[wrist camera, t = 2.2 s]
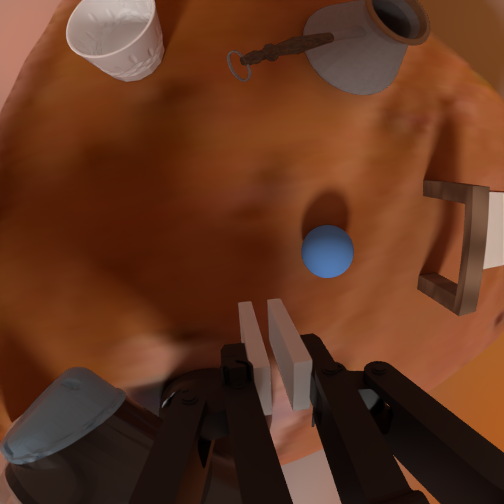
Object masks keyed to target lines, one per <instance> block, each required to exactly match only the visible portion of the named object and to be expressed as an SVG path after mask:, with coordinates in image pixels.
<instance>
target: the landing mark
mask: <svg viewBox="0 0 504 504" xmlns="http://www.w3.org/2000/svg"><path fill="white" fill-rule="evenodd" d="M501 265H504V193H503V192H489V215H488V229H487V241H486V250H485V258H484V266H483V269H486V268H491V267H496V266H501Z"/></svg>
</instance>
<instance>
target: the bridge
mask: <svg viewBox="0 0 504 504" xmlns="http://www.w3.org/2000/svg"><path fill="white" fill-rule="evenodd" d="M424 196H427V197H432V198H438V199H443V200H449V201H454V202H459V203H464V204H465V220H464V235H463V246H462V256H461V265H460V272H459V280H458V284H456V283H454V282H452V281H450V280H449V279H447V278H445V277H443V276H441V275H439V274H437V273H429V274H423V275H419V280H418V290H420V291H421V292H423V293H424V294H426V295H427V296H429V297H431V298H432V299H434V300H435V301H437V302H438V303H440V304H441V305H443V306H444V307H446V308H447V309H449V310H450V311H452V312H453V313H455V314H456V315H458V316H462V315H465V314H469V313H472V312H475V311H476V307H477V302H478V296H479V291H480V285H481V279H482V273H483V266H484V258H485V250H486V241H487V229H488V215H489V187H486V186H479V185H472V184H464V183H456V182H447V181H433V180H424Z"/></svg>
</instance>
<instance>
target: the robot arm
mask: <svg viewBox="0 0 504 504" xmlns="http://www.w3.org/2000/svg"><path fill="white" fill-rule="evenodd" d="M267 303H268V326H269V341H270V344H271V347H272V350H273V353H274V356H275V359H276V362H277V365H278V368H279V371H280V374H281V377H282V380H283V383H284V386H285V389H286V392H287V395H288V398H289V401H290V404H291V407H292V410H293V411H298V410H304V409H309V408H310V400H311V403H312V405H313V414H312V427H314V424H316V427H317V430H318V433H319V436H320V439H321V442H322V445H323V448H324V451H325V454H326V457H327V460H328V463H329V467H330V470H331V473H332V475H333V478H334V482H335V485H336V488H337V491H338V494H339V497H340V500H341V503H342V504H429V502H428V500H427V498H426V496H425V495H424V494H423V492H421V491H419V490H415V491H413V490H412V489H411V488H410V487H409V485H408V483H407V481H406V479H405V477H404V475H403V473H402V471H401V469H400V467H399V465H398V464H397V462H396V460H395V458H394V456H395V457H396V458H397V460H398V461H399V462H400V463H401V464H402V465H403V466H404V467H405V468H406V469H407V470H408V471H409V472H410V473H411V474H412V475H413V476H414V477H415V478H416V479H417V480H418V481H419V482H420V483H421V484H422V485H423V486H424V487H425V488H426V489H427V491H428V492H429V493H430V494H431V495H432V496H433V497H435V499H436V500H437V501H438V502H439V503H440V504H504V453H503V452H502V451H501V450H500V449H498V448H497V447H496V446H494V445H493V444H492V443H491V442H489V441H488V440H487V439H485V438H484V437H483V436H481V435H480V434H479V433H477V432H476V431H475V430H474V429H472V428H471V427H470V426H469V425H467V424H466V423H465V422H463V421H462V420H461V419H459V418H458V417H457V416H456V415H454V414H453V413H452V412H451V411H449V410H448V409H447V408H445V407H444V406H443V405H441V404H440V403H439V402H438V401H436V400H435V399H434V398H433V397H431V396H430V395H429V394H427V393H426V392H425V391H424V390H422V389H421V388H420V387H418V386H417V385H416V384H415V383H413V382H412V381H411V380H409V379H408V378H407V377H406V376H404V375H403V374H402V373H400V372H399V371H398V370H397V369H395V368H394V367H393V366H392V365H390V364H388V363H386V362H382V361H374V362H370V363H368V364H367V365H366V366H365V367H364V371H348V370H347V369H346V368H345V367H344V366H343V365H342V364H340V363H338V362H335V361H334V360H333V358H332V357H331V355H330V353H329V352H328V350H327V349H326V347H325V345H324V344H323V342H322V340H321V339H320V338H319V337H318V336H316V335H315V334H313V333H312V334H306V335H299V333H298V332H297V330H296V328H295V326H294V324H293V322H292V320H291V318H290V316H289V314H288V312H287V310H286V308H285V306H284V305H283V303H282V301H281V299H280V298H278V299H268V300H267ZM238 308H239V320H240V332H241V343H237V344H227V345H224V346H223V348H222V349H221V366H220V369H202V370H197V371H193V372H190V373H187V374H184V375H182V376H180V377H179V378H177V379H175V380H174V381H173V382H172V383H170V384H169V385H168V387H167V388H166V389H165V391H164V393H163V395H162V397H161V402H160V408H159V417H158V416H156V415H155V414H153V413H152V412H150V411H149V410H147V409H146V408H144V407H143V406H141V405H140V404H138V403H137V402H136V401H134V400H133V399H131V398H130V397H128V396H127V395H126V392H124V391H123V390H121V389H119V388H115V387H114V386H112V385H111V384H109V383H108V382H107V381H105V380H104V379H102V378H101V377H99V376H98V375H97V374H95V373H94V372H93V371H91V370H89V369H87V368H84V367H73V368H70V369H68V370H66V371H65V372H64V373H62V374H61V375H60V376H59V377H58V378H57V379H56V380H55V381H53V382H52V383H51V384H50V385H49V386H48V387H47V388H46V389H45V390H44V391H43V393H42V394H41V395H40V396H39V397H38V398H37V399H36V400H35V401H34V402H33V403H32V404H31V405H30V407H29V408H28V409H27V410H26V411H25V412H24V413H23V415H22V416H21V417H20V418H19V420H18V421H17V422H16V423H15V425H14V426H13V427H12V428H11V429H10V430H9V432H8V433H7V434H6V436H5V437H4V438H3V440H2V441H1V443H0V452H1V453H2V455H3V456H4V458H5V460H7V461H8V462H9V463H8V465H7V467H6V468H5V471H4V480H5V483H6V486H7V488H8V490H9V492H10V495H11V496H10V498H9V499H8V501H7V503H6V504H293V502H292V499H291V496H290V493H289V490H288V487H287V484H286V481H285V478H284V475H283V472H282V469H281V466H280V463H279V459H278V456H277V453H276V450H275V447H274V444H273V441H272V437H271V434H270V427H271V422H272V397H271V370H270V363H269V360H268V357H267V353H266V350H265V347H264V343H263V340H262V336H261V333H260V330H259V326H258V323H257V319H256V316H255V313H254V309H253V306H252V302H251V301H249V302H239V303H238ZM386 403H387V404H388V405H389V406H390V407H389V406H388V405H387V404H386ZM393 455H394V456H393Z"/></svg>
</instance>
